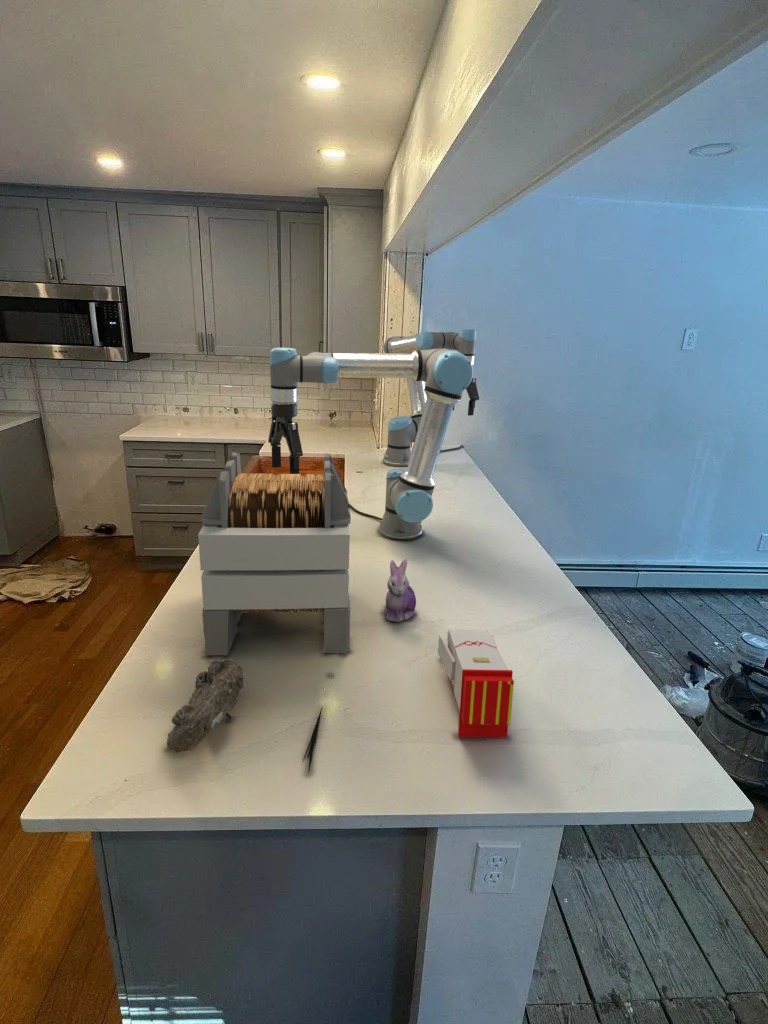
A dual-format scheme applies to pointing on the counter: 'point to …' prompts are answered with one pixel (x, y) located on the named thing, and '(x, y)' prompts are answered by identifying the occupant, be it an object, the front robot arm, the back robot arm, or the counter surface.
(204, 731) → the fossil
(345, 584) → the record crate
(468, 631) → the toy
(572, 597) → the counter surface
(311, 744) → the feather
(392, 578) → the figurine
